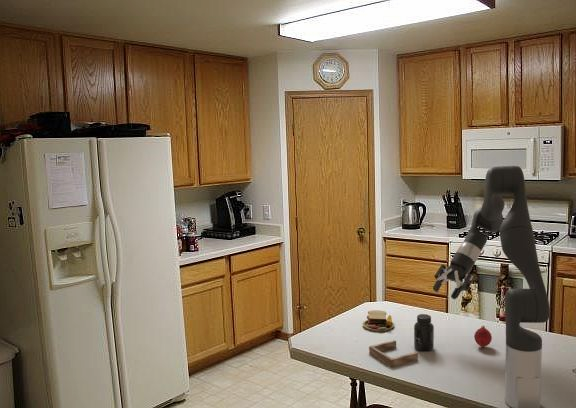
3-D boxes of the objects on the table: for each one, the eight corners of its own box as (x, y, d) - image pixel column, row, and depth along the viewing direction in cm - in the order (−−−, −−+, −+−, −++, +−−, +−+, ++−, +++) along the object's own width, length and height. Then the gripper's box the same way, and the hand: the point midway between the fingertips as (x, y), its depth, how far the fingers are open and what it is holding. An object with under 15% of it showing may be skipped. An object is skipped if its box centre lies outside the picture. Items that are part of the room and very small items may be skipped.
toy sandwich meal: (360, 331, 207) (360, 320, 206) (365, 319, 220) (365, 308, 219) (392, 333, 204) (392, 322, 203) (395, 321, 216) (395, 310, 216)
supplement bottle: (412, 350, 187) (411, 318, 185) (416, 343, 193) (416, 311, 191) (431, 353, 184) (431, 320, 182) (435, 346, 190) (435, 314, 188)
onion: (492, 351, 184) (493, 329, 183) (475, 350, 185) (475, 328, 184) (490, 344, 189) (490, 323, 188) (473, 343, 191) (473, 322, 189)
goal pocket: (394, 346, 191) (394, 340, 191) (417, 359, 179) (417, 352, 179) (369, 353, 186) (369, 346, 186) (391, 367, 175) (391, 359, 174)
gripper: (445, 247, 196) (423, 283, 194) (476, 256, 184) (453, 295, 182) (455, 257, 200) (434, 293, 197) (486, 267, 188) (464, 305, 185)
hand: (443, 294), depth 189 cm, fingers open, 8 cm apart
